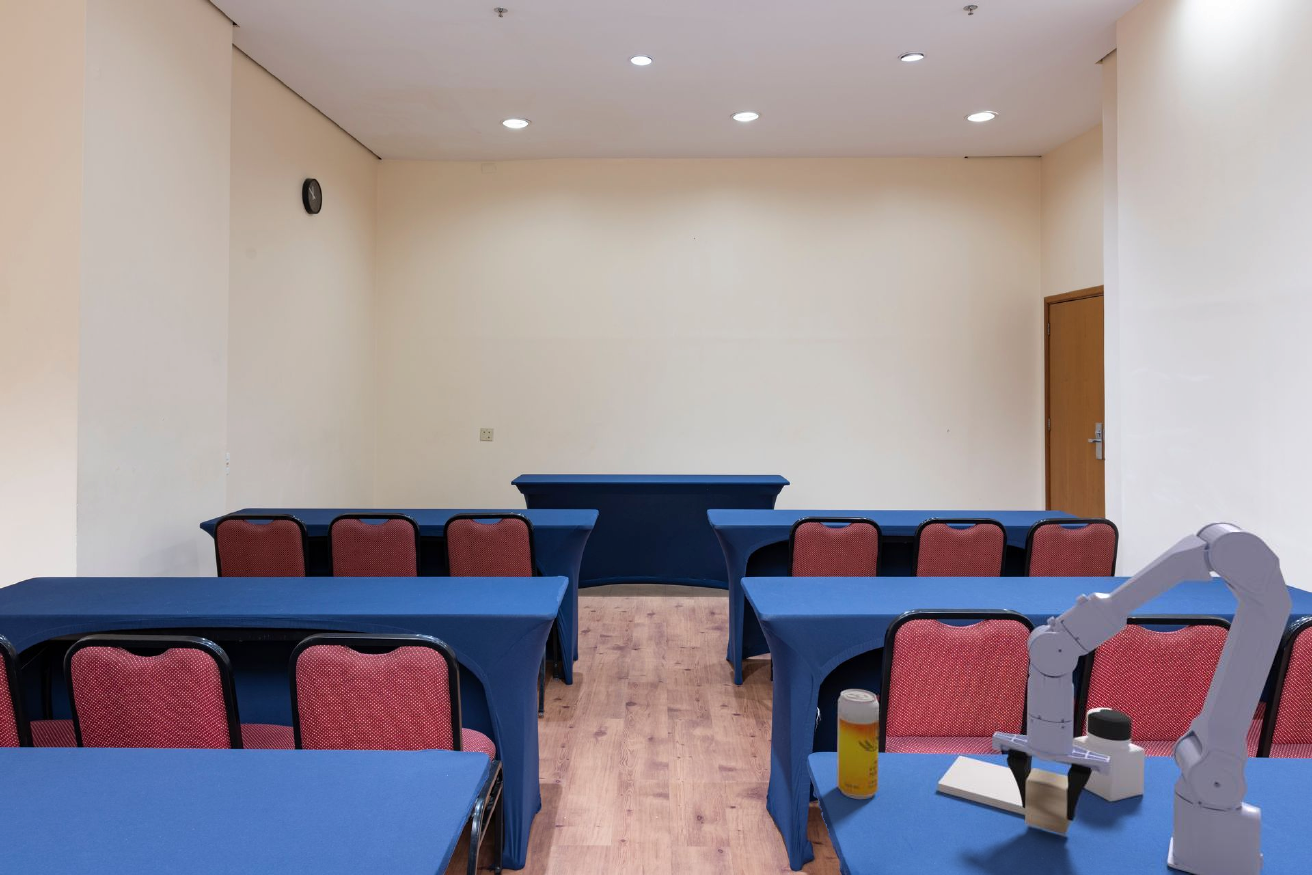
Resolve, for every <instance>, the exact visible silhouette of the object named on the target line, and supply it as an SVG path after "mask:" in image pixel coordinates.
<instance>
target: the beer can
mask: <svg viewBox="0 0 1312 875" xmlns="http://www.w3.org/2000/svg"><path fill="white" fill-rule="evenodd" d="M879 708H880V703H879V702H878V699H877V695H876V694H875V693H873V692H871V691H869V690H865V689H861V688H860V689H859V688H849V689H845V690H843V691H841V692H840V695H839V697H838V699H837V742H836V743H837V744H836V745H837V746H836V747H837V750H836V751H837V752H836V753H837V754H836V759H837V760H836V761H837V762H836V766H837V767H836V770H837V771H836V786H837V787H838V789H839V790H840V792H841V793H842V795H844V796H846V797H848V798H852V799H856V800H867V799H870V798H872V797H873V796H874V795H875V793H876V792H878V788H879V732H880V731H879V729H880V728H879V727H880V726H879V725H880V724H879V723H880V718H879V717H880V716H879V714H880V712H879V711H880V709H879Z"/></svg>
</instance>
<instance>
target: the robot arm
mask: <svg viewBox="0 0 1312 875" xmlns="http://www.w3.org/2000/svg"><path fill="white" fill-rule="evenodd" d="M1280 563H1281V561H1280V558H1279V556H1278V555H1277V554H1276V553H1275V552H1274V551H1273V550H1272V549H1271V548H1270V547H1269V545H1268V544H1267V543H1266V542H1265V541H1264V540H1263V539H1262V538H1260V537H1259V536H1258V535H1255V534H1254V533H1251V532H1249V531H1245V530H1243V529H1242V528H1241V527H1240V526H1237V525H1235V524H1233V523H1231V522H1226V521H1217V522H1211V523H1207V524H1206V525H1204V526H1203V527H1201V528H1200V529H1199V530H1198V531H1197V532H1196V534H1194V533H1190V535H1187V536H1185V537H1183V538H1181V540H1179V541H1178V542H1177V543H1175V544H1174V545H1172V546H1171V547H1170V548H1168V549H1167V550H1166V551H1165V552H1163V553H1162V554H1160V555H1159V556H1158V557H1157V558H1155V559H1154V560H1153V561H1151V562H1150V563H1149V564H1147V565H1146V566H1145V567H1143V568H1141V570H1139V571H1138V572H1137V573H1135V574H1134V575H1133V576H1131V577H1130V578H1129V579H1127V580H1126V581H1125V582H1123V583H1122V584H1121V585H1120V586H1118V587H1117V588H1115V589H1114V590H1113V591H1112V592H1110V593H1102V592H1092V593H1091V594H1089V595H1088V596H1086V594H1084V593H1082V594H1080V595H1079V596H1077V597H1076V598H1075V601H1076V604H1074V605H1073V606H1072V607H1070V608H1069V609H1067V610H1066V611H1064V613H1062V614H1060V615H1059V616H1057V617H1056V618H1055V617H1054V616H1050V617H1049V618H1047V620H1046V622H1047V625H1045V624H1043V625H1039V626H1037V627H1035V628H1034V629H1033V630H1032V631H1031V633H1030V634H1029V636H1028V639H1027V641H1026V647H1027V650H1028V656H1029V659H1030V660H1029V661H1030V662H1029V666H1028V675H1029V676H1028V678H1027V701H1026V702H1027V703H1026V704H1027V709H1026V710H1027V711H1026V712H1027V713H1026V714H1027V715H1026V716H1027V717H1026V723H1027V725H1026V735H1025V734H1024V735H1023V734H1015V733H1005V732H1001V731H995V732H994V734H993V735H992V744H991V745H992V748H991V749H992V750H996V751H1001V750H1003V751H1008V753H1007V757H1006V763H1007V766H1008V768H1010V769H1011V771H1012V773H1013V775H1014V778H1015V780H1016V783H1017V785H1018V788H1019V792H1020V796H1021V800H1022V807H1023V808H1025V799H1026V780H1027V778H1028V776H1029V774H1030V773H1031V771H1032V761H1033V760H1032V759H1033V758H1036V759H1037V760H1038V761H1043V762H1047V763H1053V762H1055V763H1059V764H1063V765H1066V766H1067V765H1068V766H1070V768H1069V770H1068V771H1067V773H1066V774H1067V775H1066V776H1067V777H1068V808H1067V820H1070V821H1071V822H1073V821H1074V819H1075V817H1076V811H1077V805H1078V802H1079V798H1080V796H1081V794H1082V792H1083V790H1084V789H1085V788H1084V787H1085V785H1086V783H1087V782H1088V780H1089V778H1090V775H1091V773H1092V771H1097V772H1099V774H1101V775H1105V776H1108V775H1109V773H1110V757H1108V756H1104V755H1101V754H1097V753H1094V752H1091V751H1089V750H1086V749H1083V748H1080V747H1077V746H1074V745H1073V739H1074V711H1075V710H1074V705H1075V703H1074V699H1075V698H1074V696H1075V686H1074V685H1075V684H1074V683H1073V672H1074V670H1075V669H1076V667H1077V665H1078V661H1079V657H1080V656H1085V655H1088V654H1089V653H1090V652H1092V651H1094V650H1095V649H1097V648H1098V647H1099V646H1100V645H1102V644H1104V643H1105V642H1107V641H1109V640H1110V639H1112V638H1113V637H1115V636H1116V635H1118V634H1119V633H1120V632H1122V631H1124V630H1125V629H1126V628H1127V621H1128V616H1129V614H1130V613H1132V612H1134V611H1135V610H1137V609H1139V608H1141V607H1142V606H1143V605H1145V604H1147V603H1149V602H1151V601H1152V600H1154V599H1156V598H1157V597H1159V596H1161V595H1162V594H1164V593H1165V592H1167V591H1168V590H1170V589H1172V588H1174V587H1176V586H1177V585H1179V584H1181V583H1182V582H1213V581H1214V578H1213V577H1212V574H1211V572H1212V573H1213V572H1214V573H1215V574H1217V575H1218V576H1219V577H1220V578H1221V579H1222V580H1223V583H1224V584H1225V586H1227V588H1228V589H1229V591H1231V593H1232V595H1233V596H1234V598H1236V600H1237V602H1238V604H1237V607H1236V610H1235V613H1234V616H1233V619H1232V621H1231V623H1230V624H1231V625H1230V628H1229V631H1228V634H1227V636H1226V640H1225V642H1224V646H1223V648H1222V651H1221V653H1220V656H1219V659H1218V663H1217V665H1216V667H1215V671H1214V674H1213V677H1212V680H1211V683H1210V685H1209V689H1208V690H1207V691H1208V692H1207V695H1206V697H1205V700H1204V702H1203V706H1202V709H1201V711H1200V714H1198V715H1197V716H1195V718H1194V719H1192V721H1190V725H1189V727H1188V729H1187V731H1186V733H1184V734H1183V735H1182V736H1180V737H1179V738H1178V739H1177V741H1176V742H1175V743H1174V746H1173V749H1172V755H1173V760H1174V762H1175V764H1176V766H1177V767H1178V769H1179V770H1180V772H1181V773H1180V776H1179V778H1178V779H1177V780H1176V781H1175V783H1174V789H1173V794H1174V795H1173V819H1172V821H1173V825H1172V826H1173V827H1172V837H1170V841H1169V847H1168V854H1167V861H1166V865H1167V866H1168V867H1170V868H1173V869H1176V870H1181V871H1184V872H1188V873H1190V874H1194V875H1260V871H1261V870H1263V868H1264V867H1263V866H1264V854H1263V853H1261V849H1262V848H1261V846H1262V845H1261V843H1262V810H1261V808H1259V807H1257V806H1254V805H1252V804H1249V803H1246V802H1244V801H1243V800H1244V798H1245V797H1246V795H1247V791H1248V784H1247V780H1246V776H1245V770H1246V766H1247V764H1248V761H1249V760H1248V759H1249V758H1248V745H1247V744H1248V743H1247V742H1248V741H1247V735H1248V732H1249V729H1250V727H1251V724H1252V721H1253V719H1254V715H1255V714H1256V710H1257V707H1258V704H1259V702H1260V699H1261V697H1262V694H1263V691H1264V687H1265V686H1266V682H1267V679H1268V676H1269V674H1270V670H1271V669H1272V665H1273V662H1274V659H1275V658H1276V657H1275V656H1276V654H1277V651H1278V649H1279V645H1280V642H1281V639H1282V636H1283V633H1284V631H1285V629H1286V625H1287V624H1288V623H1287V622H1288V620H1289V618H1290V614H1291V612H1292V607H1293V601H1292V598H1291V596H1290V593H1289V590H1288V587H1287V584H1286V581H1285V578H1284V576H1283V573H1282V570H1281V566H1280Z"/></svg>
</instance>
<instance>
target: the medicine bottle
mask: <svg viewBox="0 0 1312 875" xmlns="http://www.w3.org/2000/svg"><path fill="white" fill-rule="evenodd" d="M1132 721H1133V720H1132V719H1131V718H1130V716H1129V715H1128V714H1126V713H1124V712H1122V711H1120V710H1117V709H1113V708H1111V707H1096V708H1091V709H1089V710H1088V711H1087V712H1086V730H1085V731H1086V732H1085V733H1086V735H1084V736H1083V735H1082V736H1078V737H1077V736H1076V737H1073V745H1074V746H1077V747H1080V748H1083V749H1086V750H1089V751H1091V752H1094V753H1097V754H1101V755H1104V756H1108V757H1110V773H1109V775H1108V776H1105V775H1101V774H1099V772H1097V771H1092V773H1091V775H1090V778H1089V780H1088V782H1087V783H1086V785H1085V787H1084V788H1083V789H1085V790H1086V791H1089V792H1091V793H1092V794H1095V795H1097V796H1098V797H1101V798H1103V799H1105V800H1106V801H1108V802H1116V801H1120V800H1123V799H1124V800H1125V799H1128V798H1132V797H1136V796H1140V795H1143V794H1144V793H1145V791H1144V790H1145V789H1144V788H1145V785H1144V784H1145V757H1146V755H1145V753H1146V751H1145V749H1144V748H1143V747H1141V746H1139V745H1137V744H1133V743H1132Z"/></svg>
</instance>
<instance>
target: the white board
mask: <svg viewBox="0 0 1312 875" xmlns="http://www.w3.org/2000/svg"><path fill="white" fill-rule="evenodd" d="M937 791H938V792H940V793H941V792H942V793H945V794H947V795H948V794H949V795H952V796H956V797H959V798H962V799H965V800H970V801H973V802H977V803H981V804H984V805H989V806H991V807H995V808H998V809H1002V810H1005V811H1008V812H1014V813H1016V814H1020V815H1023V816H1025V808H1023V807H1022V800H1021V796H1020V792H1019V788H1018V785H1017V783H1016V780H1015V778H1014V775H1013V773H1012V771H1011V769H1010V768H1009V767H1006V766H1002V765H1000V764H999V765H997V764H995V763H990V762H986V761H983V760H978V759H975V758H970V757H966V756H964V755H963V756H961V755H959V756H958V757H957V758H956V760H955V761H954V762H953V763H952V764H951V765H950V767H949V768H948V770H947V771H946V773H944V775H943V776H942V778H941V779H940V780H939V781H938V782H937Z"/></svg>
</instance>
